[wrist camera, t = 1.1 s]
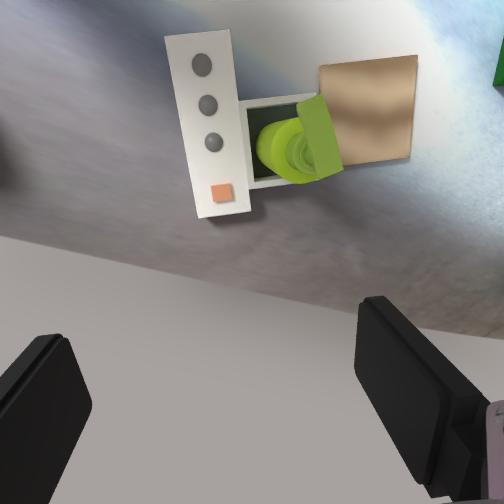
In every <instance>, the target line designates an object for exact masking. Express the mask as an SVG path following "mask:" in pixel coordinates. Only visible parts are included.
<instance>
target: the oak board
mask: <svg viewBox="0 0 504 504" xmlns="http://www.w3.org/2000/svg"><path fill="white" fill-rule="evenodd" d="M417 60H418V55H410V56H401V57H392V58H384V59H375V60H366V61H357V62H348V63H340V64H331V65H322V66H320V67H319V92H320V94H322V95H323V97H324V100H325V103H326V106H327V109H328V112H329V115H330V118H331V121H332V124H333V128H334V131H335V135H336V139H337V143H338V147H339V151H340V156H341V160H342V165H343V166H346V165H353V164H361V163H369V162H376V161H384V160H392V159H399V158H407V157H409V154H410V142H411V130H412V118H413V107H414V95H415V83H416V72H417Z"/></svg>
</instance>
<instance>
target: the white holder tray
mask: <svg viewBox="0 0 504 504" xmlns="http://www.w3.org/2000/svg"><path fill="white" fill-rule="evenodd" d="M164 39H165V44H166V49H167V55H168V60H169V65H170V71H171V76H172V81H173V87H174V92H175V97H176V102H177V108H178V113H179V118H180V124H181V129H182V134H183V140H184V145H185V150H186V155H187V161H188V166H189V171H190V177H191V182H192V187H193V193H194V198H195V203H196V208H197V214H198V218H204V217H212V216H219V215H226V214H234V213H241V212H248V211H251V206H250V197H249V189H257V188H264V187H272V186H279V185H287V184H295V183H291V182H289V181H287V180H285V179H283V178H282V177H281V176H279V175H275V176H267V177H259V178H254V174H253V165H252V156H251V147H250V138H249V128H248V119H247V110H251V109H259V108H267V107H276V106H284V105H292V104H298V103H300V102H302V101H304V100H307V99H309V98H311V97H314V96H316V95H317V92H311V93H303V94H294V95H286V96H277V97H269V98H260V99H252V100H243V101H238V95H237V87H236V78H235V69H234V61H233V52H232V44H231V35H230V29H226V30H217V31H207V32H198V33H189V34H179V35H170V36H164ZM317 180H319V179H315V180H314V181H317Z"/></svg>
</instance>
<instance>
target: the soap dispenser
mask: <svg viewBox="0 0 504 504" xmlns="http://www.w3.org/2000/svg"><path fill="white" fill-rule="evenodd" d="M296 110H297V114H298V117H297V118H292V119H287V120H283V121H278V122H274V123H271V124H268V125H267V126H265V127H264V128H263V129H262V130H261V131H260V133H259V134H258V137H257V140H256V153H257V156H258V158H259V160H260V161H261V162H262V163H263V164H264V165H265V166H267V167H268V168H269V169H271V170H272V171H274V172H275V173H276V174H278V175H279V176H281V177H282V178H283V179H285V180H287V181H289V182H291V183H296V184H304V183H309V182H311V181H314V180H315V179H319V180H321V179H323V178H326V177H328V176H330V175H333V174H335V173H338V172H340V171H342V170H344V169H343V165H342V160H341V156H340V151H339V147H338V143H337V139H336V135H335V131H334V128H333V124H332V121H331V118H330V115H329V112H328V109H327V106H326V103H325V100H324V97H323V95H322V94H318V95H316V96H314V97H311V98H309V99H307V100H304V101H302V102H300V103H298V104H296Z"/></svg>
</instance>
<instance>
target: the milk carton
mask: <svg viewBox="0 0 504 504" xmlns="http://www.w3.org/2000/svg"><path fill="white" fill-rule="evenodd" d="M493 86H504V38H503V42H502V47H501V51H500V55H499V60H498V64H497V68H496V73H495V77H494V82H493Z"/></svg>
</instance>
